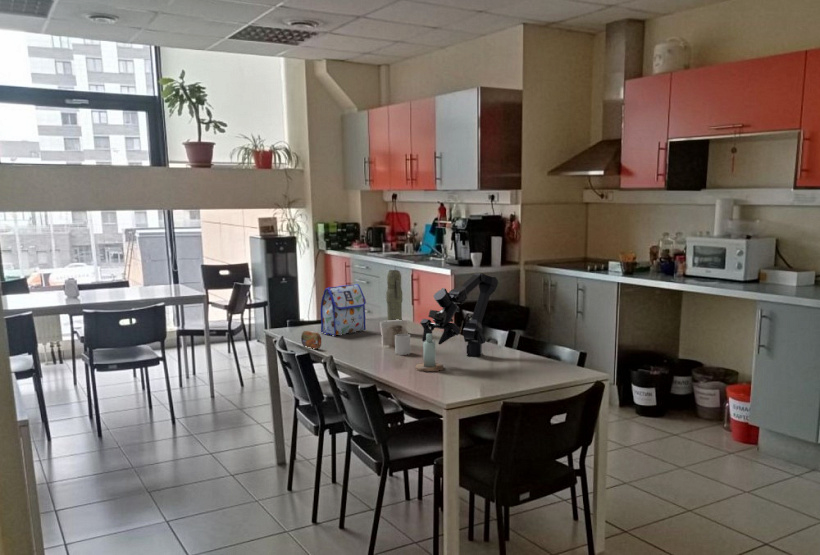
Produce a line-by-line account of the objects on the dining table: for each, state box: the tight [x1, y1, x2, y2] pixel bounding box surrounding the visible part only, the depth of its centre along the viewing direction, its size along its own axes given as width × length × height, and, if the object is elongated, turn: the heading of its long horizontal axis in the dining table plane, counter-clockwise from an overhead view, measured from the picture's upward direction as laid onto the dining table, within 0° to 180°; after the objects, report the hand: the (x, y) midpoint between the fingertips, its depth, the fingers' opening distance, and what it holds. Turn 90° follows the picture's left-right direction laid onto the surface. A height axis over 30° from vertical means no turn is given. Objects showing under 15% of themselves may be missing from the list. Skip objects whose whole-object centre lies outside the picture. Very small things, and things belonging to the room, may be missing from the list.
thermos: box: [385, 269, 403, 321], centre depth 359 cm, size 9×12×35 cm
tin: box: [300, 330, 322, 350], centre depth 325 cm, size 15×3×8 cm, turn 42°
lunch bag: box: [320, 283, 367, 337], centre depth 362 cm, size 23×17×27 cm
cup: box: [394, 333, 411, 356], centre depth 311 cm, size 7×10×9 cm
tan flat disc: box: [415, 362, 444, 372], centre depth 281 cm, size 12×12×1 cm
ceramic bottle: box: [422, 333, 437, 367], centre depth 280 cm, size 5×5×14 cm
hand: (430, 342), depth 281 cm, fingers open, 9 cm apart
